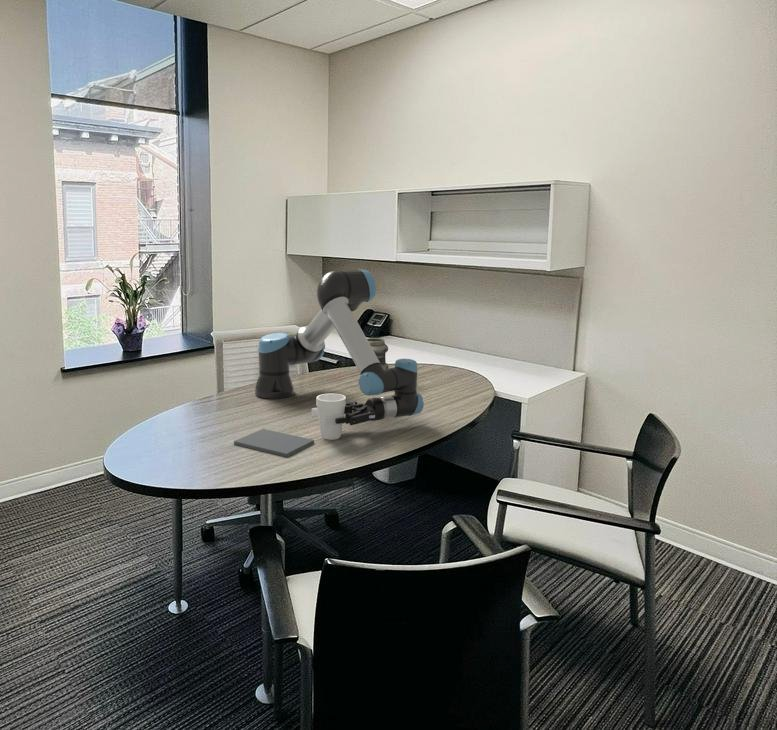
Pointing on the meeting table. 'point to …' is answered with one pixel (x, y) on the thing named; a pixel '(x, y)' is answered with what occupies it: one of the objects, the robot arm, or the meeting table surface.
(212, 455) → the meeting table surface
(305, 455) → the meeting table surface
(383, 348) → the apothecary jar
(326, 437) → the foam cup
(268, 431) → the rubber mat
